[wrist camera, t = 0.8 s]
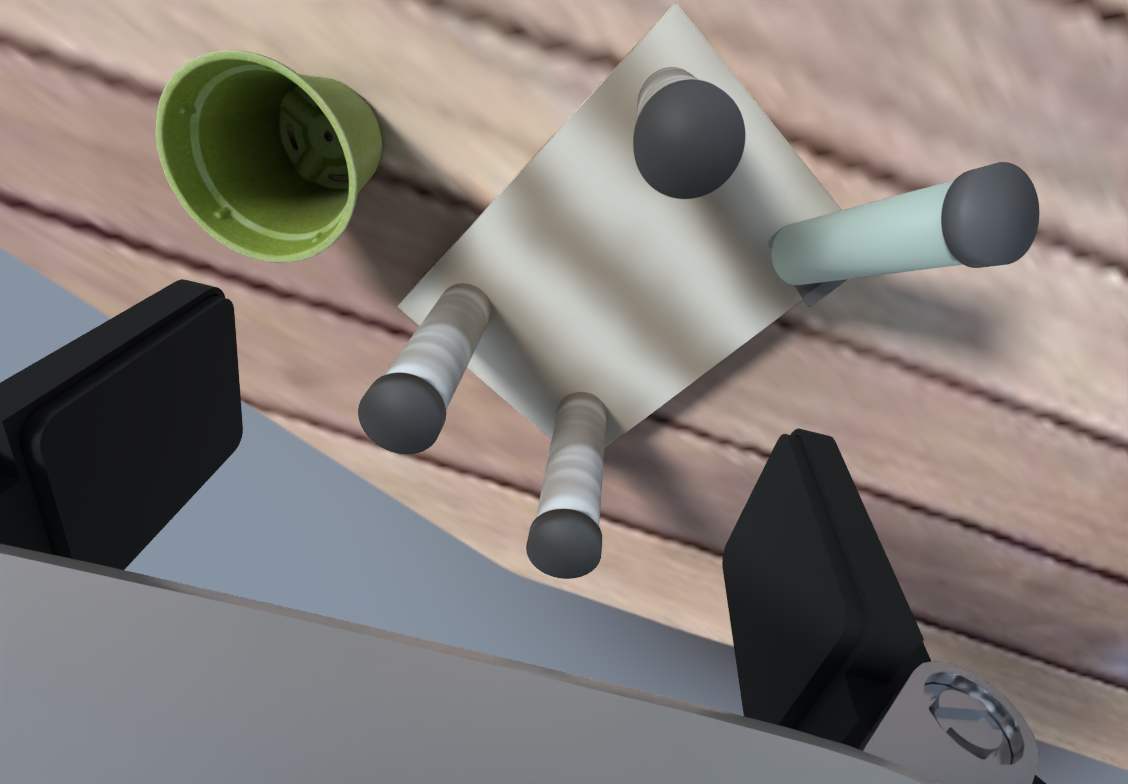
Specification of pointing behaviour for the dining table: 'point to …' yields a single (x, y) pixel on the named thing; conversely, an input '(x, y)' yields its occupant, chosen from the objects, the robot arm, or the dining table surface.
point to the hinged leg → (916, 230)
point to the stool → (608, 275)
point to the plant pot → (265, 153)
